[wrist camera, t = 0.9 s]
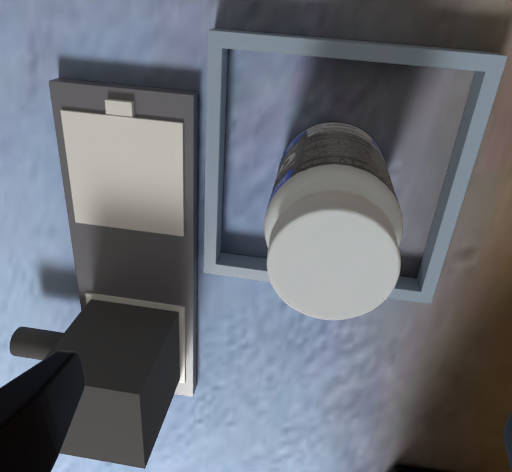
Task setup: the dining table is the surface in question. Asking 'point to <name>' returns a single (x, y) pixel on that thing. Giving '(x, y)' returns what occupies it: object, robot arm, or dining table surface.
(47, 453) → the robot arm
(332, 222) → the pill bottle
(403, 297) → the grey square frame
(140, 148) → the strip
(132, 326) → the grey block with peg
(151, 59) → the dining table surface
